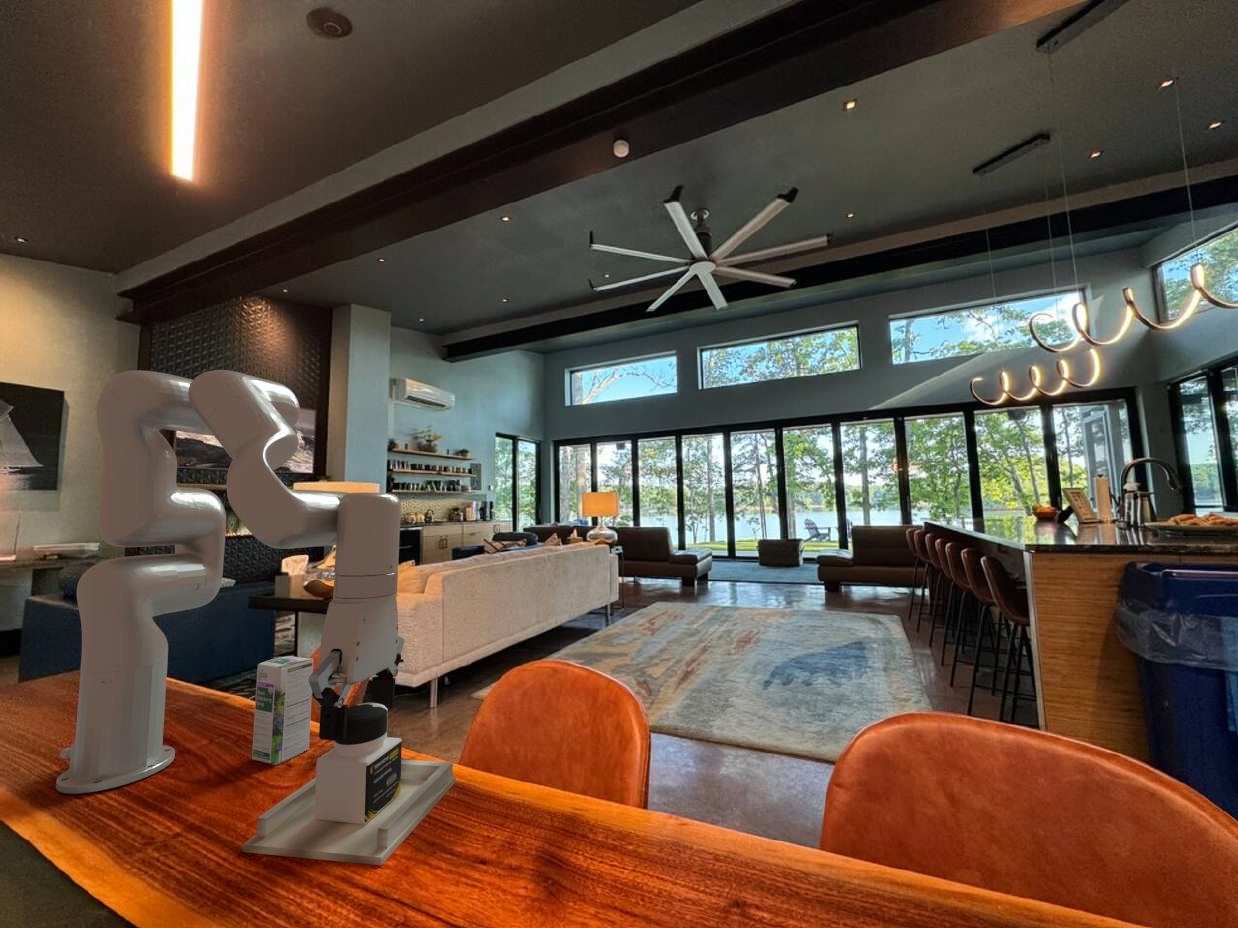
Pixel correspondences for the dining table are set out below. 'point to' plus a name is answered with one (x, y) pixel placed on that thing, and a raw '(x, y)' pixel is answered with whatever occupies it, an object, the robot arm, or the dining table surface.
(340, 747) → the medicine bottle
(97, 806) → the dining table surface
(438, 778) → the bottle stand
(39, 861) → the dining table surface
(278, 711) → the syrup box
